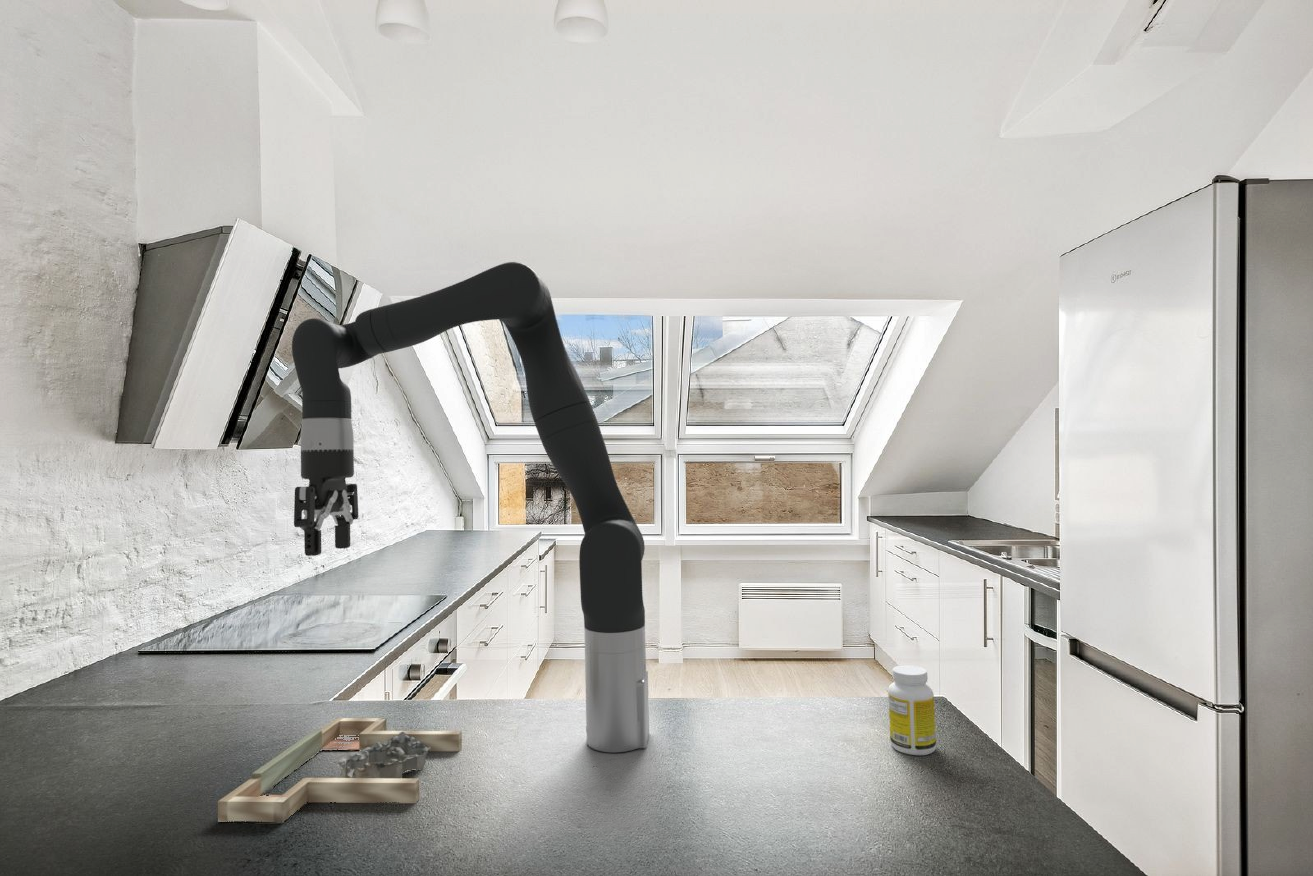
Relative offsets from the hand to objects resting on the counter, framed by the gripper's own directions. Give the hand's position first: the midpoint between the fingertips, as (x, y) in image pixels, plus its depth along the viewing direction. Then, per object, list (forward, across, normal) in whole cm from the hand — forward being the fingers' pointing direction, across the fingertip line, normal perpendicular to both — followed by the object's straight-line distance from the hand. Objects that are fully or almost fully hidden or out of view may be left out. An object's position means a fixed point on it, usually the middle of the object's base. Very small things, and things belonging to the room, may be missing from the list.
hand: (328, 551), depth 107 cm
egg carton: (+30, -11, -14) cm, 35 cm away
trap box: (+29, -11, -11) cm, 33 cm away
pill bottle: (+30, -2, -88) cm, 93 cm away
